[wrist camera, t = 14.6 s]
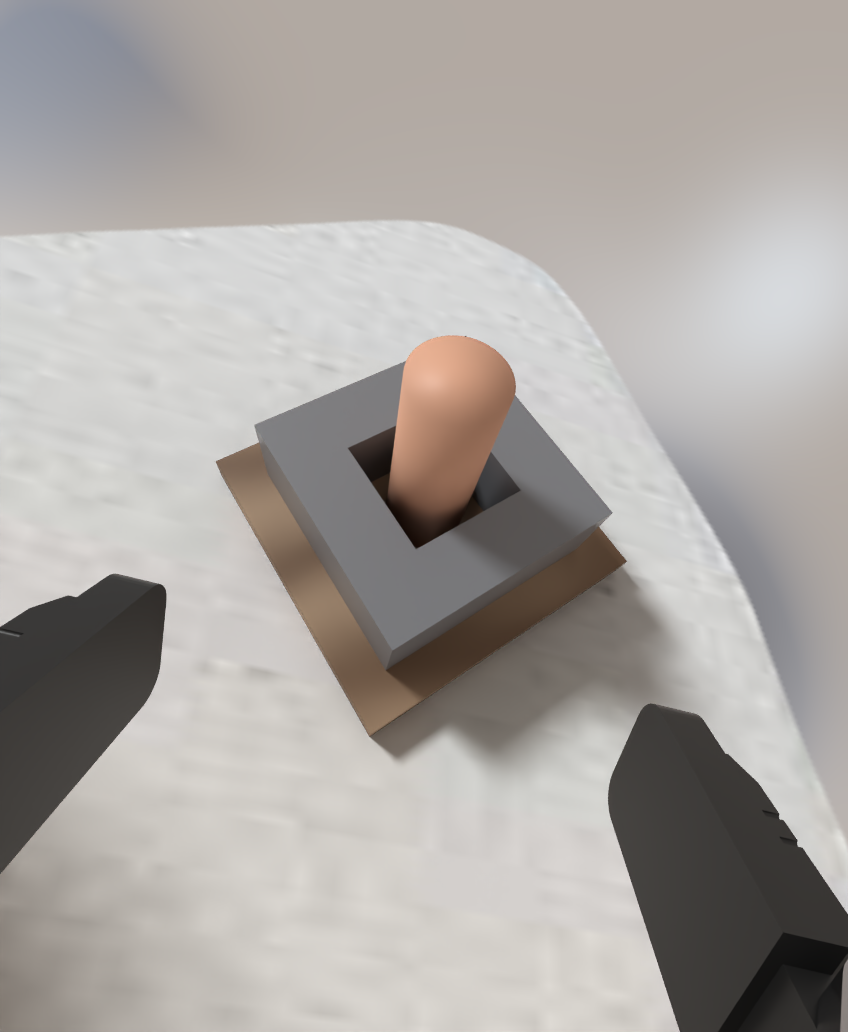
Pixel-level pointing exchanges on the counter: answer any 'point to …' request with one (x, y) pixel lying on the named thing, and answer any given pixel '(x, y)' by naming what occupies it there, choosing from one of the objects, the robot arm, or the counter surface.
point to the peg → (445, 432)
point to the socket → (380, 539)
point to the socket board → (340, 635)
